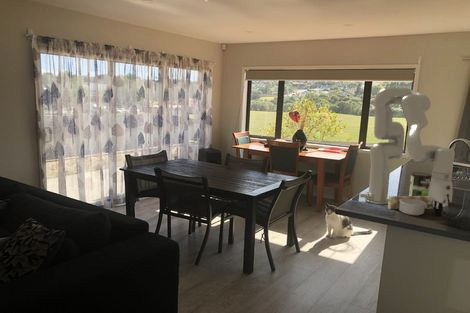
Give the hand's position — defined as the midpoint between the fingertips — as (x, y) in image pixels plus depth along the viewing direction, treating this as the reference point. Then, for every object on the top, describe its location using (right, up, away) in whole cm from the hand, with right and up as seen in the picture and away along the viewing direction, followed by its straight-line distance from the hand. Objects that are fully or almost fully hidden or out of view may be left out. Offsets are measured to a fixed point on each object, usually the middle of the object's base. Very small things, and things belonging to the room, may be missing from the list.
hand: (436, 216), depth 164 cm
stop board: (-3, +1, +21) cm, 21 cm away
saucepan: (-1, -1, +12) cm, 12 cm away
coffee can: (+12, +3, +40) cm, 42 cm away
